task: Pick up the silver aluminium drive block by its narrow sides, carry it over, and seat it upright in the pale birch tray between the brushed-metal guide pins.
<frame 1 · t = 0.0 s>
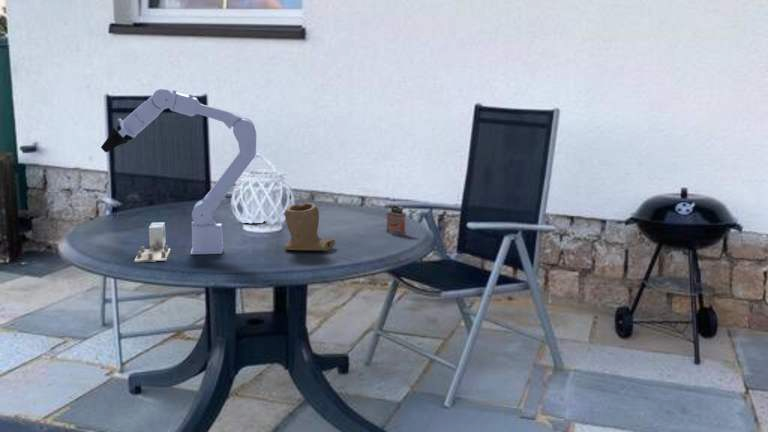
hand: (105, 148, 235), 32 cm above the table, tool tilted 50°, fingers open, 7 cm apart
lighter: (395, 233, 276), on the table
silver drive: (157, 246, 252), on the table
brown hollow piece: (308, 251, 249), on the table
birch pin tray: (153, 256, 240), on the table
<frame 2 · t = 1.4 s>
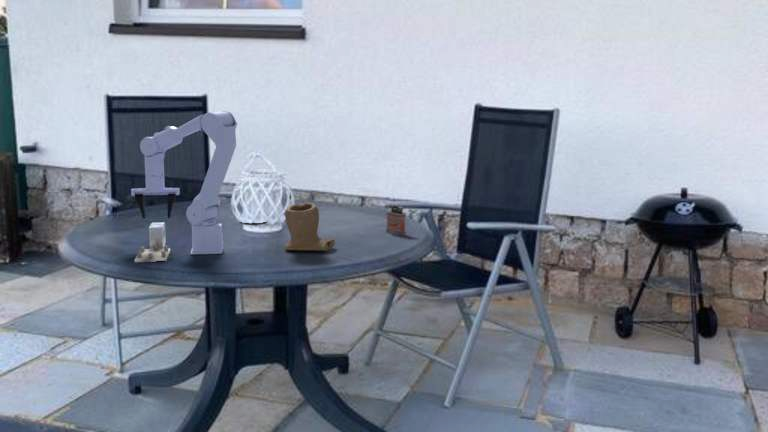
hand: (156, 217, 250), 9 cm above the table, tool pointing down, fingers open, 7 cm apart
nothing on the table moved.
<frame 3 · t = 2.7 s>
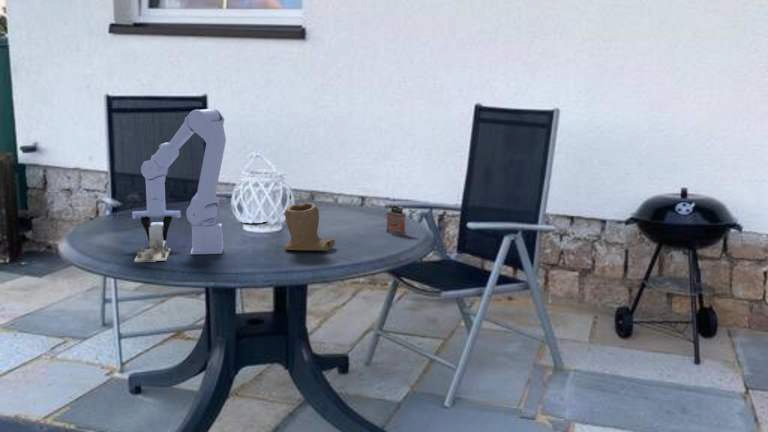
hand: (157, 240, 252), 2 cm above the table, tool pointing down, fingers closed on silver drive, 4 cm apart
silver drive: (157, 246, 252), on the table, touching gripper
everything else where it was.
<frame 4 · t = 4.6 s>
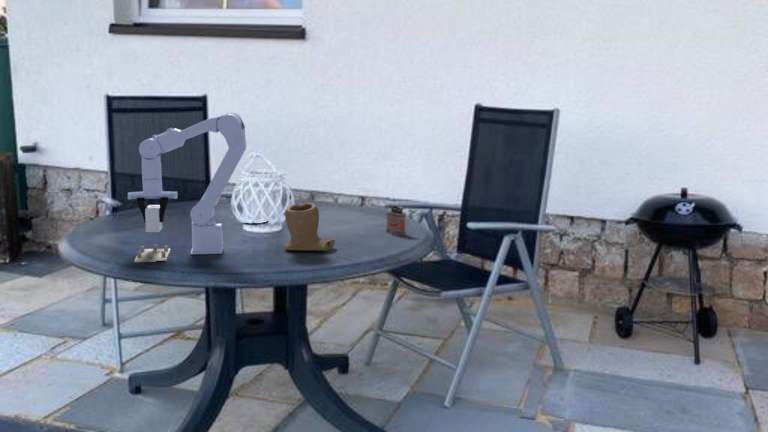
hand: (154, 221, 243), 9 cm above the table, tool pointing down, fingers closed on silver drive, 4 cm apart
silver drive: (154, 229, 244), point 7 cm above the table, touching gripper
everything else where it was.
when the fingers open (4 cm above the table, at t = 6.8 s): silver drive stays where it is, resting on birch pin tray.
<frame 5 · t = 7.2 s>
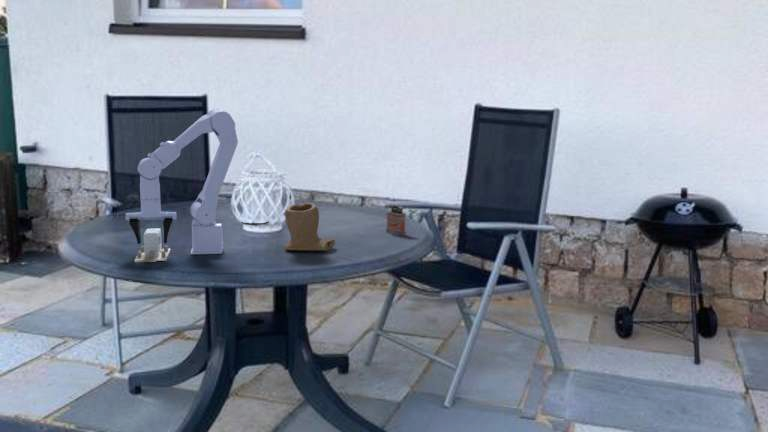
hand: (152, 242, 239), 4 cm above the table, tool pointing down, fingers open, 7 cm apart
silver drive: (153, 253, 240), point 1 cm above the table, touching birch pin tray
everything else where it was.
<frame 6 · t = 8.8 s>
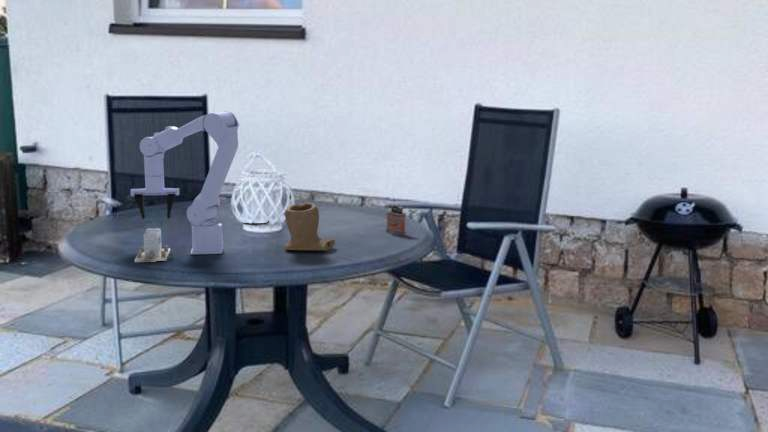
hand: (156, 217, 249), 9 cm above the table, tool pointing down, fingers open, 7 cm apart
nothing on the table moved.
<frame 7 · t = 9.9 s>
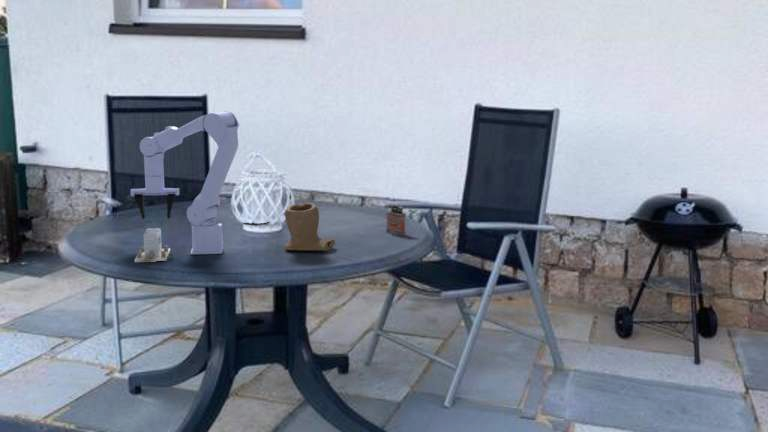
hand: (156, 217, 249), 9 cm above the table, tool pointing down, fingers open, 7 cm apart
at the end: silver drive 0.4 cm off-centre on the birch pin tray, point 0.6 cm above the birch pin tray's base; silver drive tilted 0°; the gripper is holding nothing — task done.
